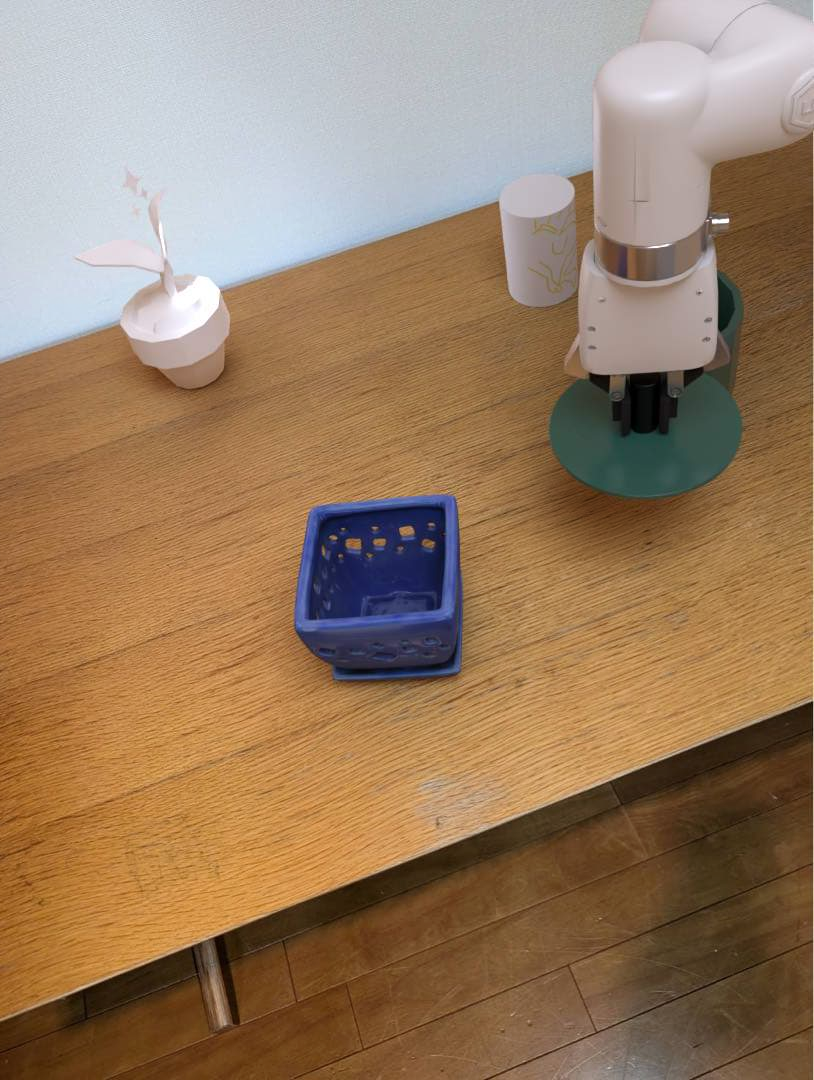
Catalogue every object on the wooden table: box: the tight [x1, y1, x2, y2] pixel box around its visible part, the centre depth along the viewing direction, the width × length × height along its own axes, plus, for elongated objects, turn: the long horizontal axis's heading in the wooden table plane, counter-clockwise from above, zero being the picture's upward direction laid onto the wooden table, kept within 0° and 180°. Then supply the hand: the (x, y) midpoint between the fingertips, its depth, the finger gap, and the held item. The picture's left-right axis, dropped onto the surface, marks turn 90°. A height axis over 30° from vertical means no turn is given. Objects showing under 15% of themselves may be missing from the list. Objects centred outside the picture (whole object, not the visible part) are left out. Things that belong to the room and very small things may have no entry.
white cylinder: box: [498, 172, 579, 308], centre depth 112 cm, size 8×8×12 cm
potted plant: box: [73, 165, 231, 390], centre depth 107 cm, size 13×12×25 cm
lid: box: [548, 371, 744, 501], centre depth 81 cm, size 16×16×7 cm
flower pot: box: [293, 494, 464, 682], centre depth 85 cm, size 13×13×12 cm
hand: (643, 420), depth 83 cm, fingers closed on lid, 2 cm apart
